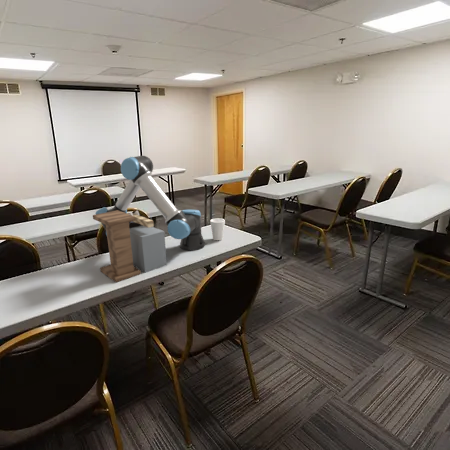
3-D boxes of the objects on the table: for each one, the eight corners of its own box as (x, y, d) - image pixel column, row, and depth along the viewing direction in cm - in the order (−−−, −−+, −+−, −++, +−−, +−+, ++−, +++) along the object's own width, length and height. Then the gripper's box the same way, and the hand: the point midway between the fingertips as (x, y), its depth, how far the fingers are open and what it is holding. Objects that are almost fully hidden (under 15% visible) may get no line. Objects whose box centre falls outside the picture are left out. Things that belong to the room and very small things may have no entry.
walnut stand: (140, 274, 159) (134, 216, 151) (116, 282, 151) (108, 222, 142) (124, 263, 172) (117, 210, 163) (100, 271, 163) (92, 215, 154)
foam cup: (216, 242, 201) (216, 223, 198) (207, 239, 208) (207, 220, 204) (228, 239, 207) (227, 220, 204) (219, 236, 214) (218, 217, 210)
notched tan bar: (153, 226, 161) (153, 220, 160) (148, 227, 159) (148, 221, 158) (130, 217, 177) (130, 212, 176) (125, 218, 175) (125, 213, 174)
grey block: (166, 265, 169) (164, 231, 164) (145, 272, 161) (141, 237, 155) (149, 256, 182) (146, 224, 176) (128, 262, 173) (124, 229, 168)
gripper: (134, 229, 192) (150, 217, 174) (108, 235, 181) (123, 222, 164) (130, 218, 193) (146, 204, 175) (104, 223, 182) (118, 209, 164)
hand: (135, 213), depth 169 cm, fingers closed on notched tan bar, 3 cm apart
